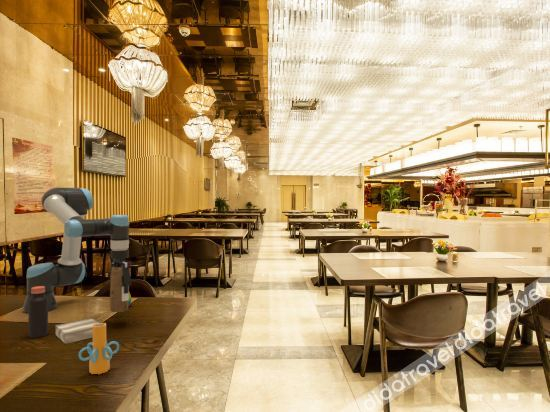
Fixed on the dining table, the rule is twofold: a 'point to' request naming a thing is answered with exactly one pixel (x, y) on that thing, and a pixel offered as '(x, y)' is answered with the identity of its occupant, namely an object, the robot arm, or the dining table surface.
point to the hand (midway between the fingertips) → (119, 298)
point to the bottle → (38, 312)
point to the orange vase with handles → (99, 350)
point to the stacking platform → (75, 330)
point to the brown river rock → (117, 291)
